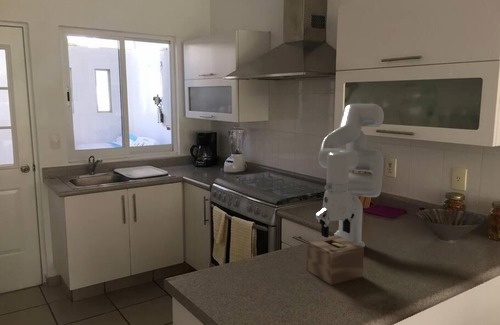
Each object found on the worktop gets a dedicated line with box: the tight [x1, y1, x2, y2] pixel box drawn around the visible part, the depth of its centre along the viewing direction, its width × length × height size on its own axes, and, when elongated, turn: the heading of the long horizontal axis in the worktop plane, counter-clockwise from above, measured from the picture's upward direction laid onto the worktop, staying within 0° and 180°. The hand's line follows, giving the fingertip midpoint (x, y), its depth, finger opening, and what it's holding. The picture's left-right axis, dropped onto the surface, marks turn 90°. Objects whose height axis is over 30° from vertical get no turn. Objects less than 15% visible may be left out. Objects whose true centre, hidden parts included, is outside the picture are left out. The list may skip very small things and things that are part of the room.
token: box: [331, 243, 345, 248], centre depth 147 cm, size 5×2×6 cm, turn 28°
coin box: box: [306, 235, 365, 286], centre depth 149 cm, size 14×14×11 cm
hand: (335, 234), depth 148 cm, fingers open, 9 cm apart
